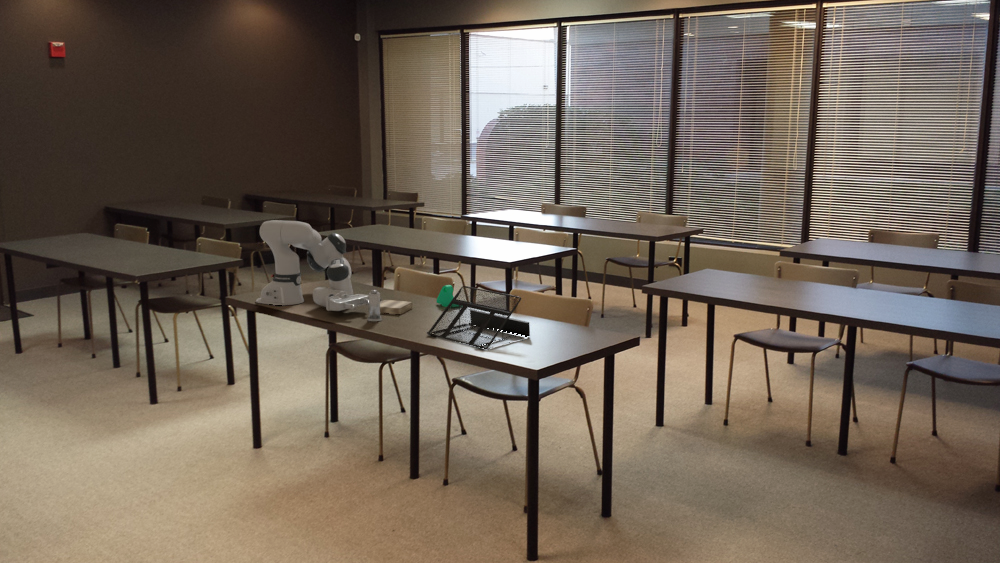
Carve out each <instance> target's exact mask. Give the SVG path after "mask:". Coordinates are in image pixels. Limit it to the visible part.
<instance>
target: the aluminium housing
mask: <svg viewBox="0 0 1000 563" xmlns="http://www.w3.org/2000/svg"><path fill="white" fill-rule="evenodd" d="M368 295H369V305H368V317H367V322H370V321H371V322H373V323H378V322H377V321H379V322H382V319H383V318H382V316H381V313H380V299H381V292H379V291H378V290H377V289H371V290H370V292H369V293H368ZM371 322H370V323H371Z"/></svg>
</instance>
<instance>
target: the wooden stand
mask: <svg viewBox="0 0 1000 563" xmlns="http://www.w3.org/2000/svg"><path fill="white" fill-rule="evenodd" d="M412 309H413V302H412V301H406V300H405V301H403V300H393V299H384V300H381V302H380V314H384V313H389V314H388V315H395V314H400V315H403V314H404V313H407V312H409V311H410V310H412Z"/></svg>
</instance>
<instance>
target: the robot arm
mask: <svg viewBox="0 0 1000 563" xmlns="http://www.w3.org/2000/svg"><path fill="white" fill-rule="evenodd" d="M259 236H260V238H261V239H262V241H263V242H265V243H266V245H268V246H269V248H270V250H271V252H272V254H273V258H274V265H275V268H274V269H275V273H273V274H270V278H272V280H271V281H270V282H269V283H268V284H267V285H265V286H264V287H262V289H261V293H260V297H259V298H256V301H255V303H257V304H264V305H269V304H273V305H272V306H275V305H282V306H291V305H293V306H294V305H298V304H302V303H304V302H305V299H304V297H303V296H304V295H303V290H302V285H301V282H302V278H301V277H302V275H301V274H302V273H301V271H300V267H301V266H300V256H299V255H298V254H297V253H296V252H295V251H293V250H292V249H291V248H290V246H289V245H292V247H294V248H298V249H303V250H307V252H306V262H307V264H308V265H309V267H310V268H311V269H312V270H314V271H315V272H317V273H322V272H323V271H325V270H326V269H327V270H326V275H327V278H328V282H329V286H330V287H325V286H324V287H323V286H322V287H321V286H320V287H319V286H318V287H316V288H314V290H313V292H312V300H313V302H314V304H316V305H318V306H322V307H325V309H326V311H328V312H330V311H333V312H340V311H344V310H349V309H351V310H353V309H356V307H359V306H364V305H367V306H369V294H362V293H357V294H354V290H353V286H352V285H353V284H352V281H351V277H352V268H351V264H350V262H349V261H348V260H347V259H346V257H344V254H346V253H347V250H346V249H347V241H346V240H345V239H344V237H343V236H342V235H340V234H339V233H336V232H331V233H329V234H328V235H327V237H326V238H325V237H324V239H323V238H322V236H321V234H320V233H319V231H317V230H316V229H314V228H312V226H311V225H310V224H309V223H307V222H303V221H298V220H280V219H279V220H278V219H275V220H274V219H272V220H266V221H263V223H261V225H260V227H259ZM322 239H323V240H322ZM327 267H328V268H327Z"/></svg>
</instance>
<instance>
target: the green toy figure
mask: <svg viewBox="0 0 1000 563" xmlns="http://www.w3.org/2000/svg"><path fill="white" fill-rule="evenodd" d="M453 294H454V287H453V285H451V284H446V285H443V286H442V288H441V290H440V291H439V294H438V296H437V297H436V304H440V305H441V307H445V308H446V307H447V306H448V305H449V303H450V302H451V301H452V299H453V298H454V297H455V296H454V295H453ZM454 307H455V308H456V304H454V305H453V304H452V307H451V308H454ZM457 307H459V306H458V305H457Z"/></svg>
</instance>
